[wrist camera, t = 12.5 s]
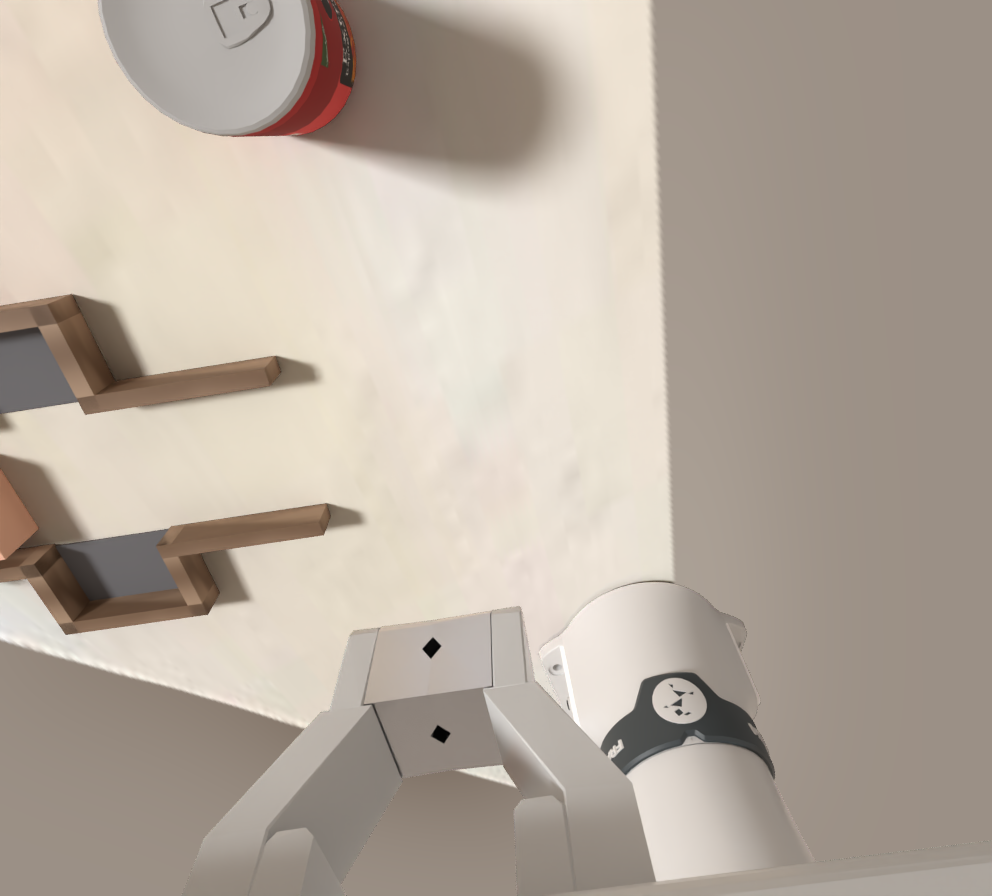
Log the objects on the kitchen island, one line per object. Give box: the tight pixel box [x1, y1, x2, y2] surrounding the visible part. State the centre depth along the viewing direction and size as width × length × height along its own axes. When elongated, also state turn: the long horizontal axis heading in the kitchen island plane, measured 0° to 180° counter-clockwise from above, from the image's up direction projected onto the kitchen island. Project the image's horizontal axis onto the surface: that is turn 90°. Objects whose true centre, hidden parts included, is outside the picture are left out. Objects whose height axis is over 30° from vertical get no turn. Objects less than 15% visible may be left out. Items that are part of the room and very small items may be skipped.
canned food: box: [98, 0, 356, 137], centre depth 27 cm, size 8×8×11 cm
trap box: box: [0, 294, 331, 635], centre depth 42 cm, size 25×31×4 cm
